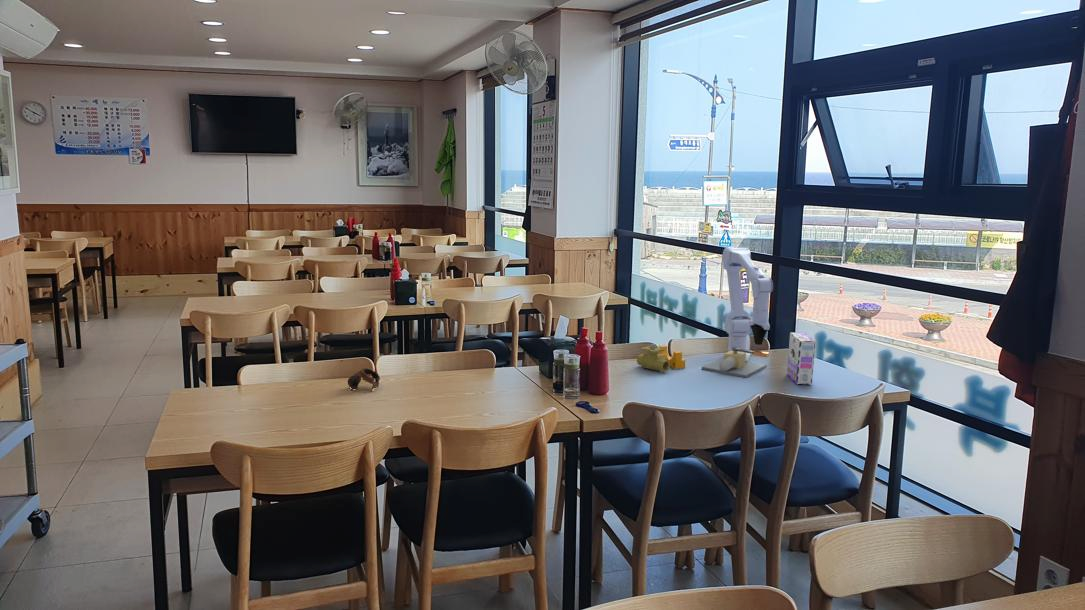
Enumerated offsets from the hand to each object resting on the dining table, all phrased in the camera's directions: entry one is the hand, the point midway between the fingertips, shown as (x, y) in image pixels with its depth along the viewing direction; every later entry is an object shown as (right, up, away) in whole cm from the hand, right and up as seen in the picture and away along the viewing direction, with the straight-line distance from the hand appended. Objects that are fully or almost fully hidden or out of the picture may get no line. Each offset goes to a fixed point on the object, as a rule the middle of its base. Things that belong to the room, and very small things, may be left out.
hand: (758, 344), depth 314 cm
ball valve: (-40, -10, -2) cm, 41 cm away
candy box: (+11, -13, -13) cm, 22 cm away
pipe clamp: (-32, -9, +5) cm, 34 cm away
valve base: (-9, -9, +1) cm, 13 cm away
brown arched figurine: (-145, -14, -33) cm, 149 cm away
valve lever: (-4, -3, -4) cm, 7 cm away
